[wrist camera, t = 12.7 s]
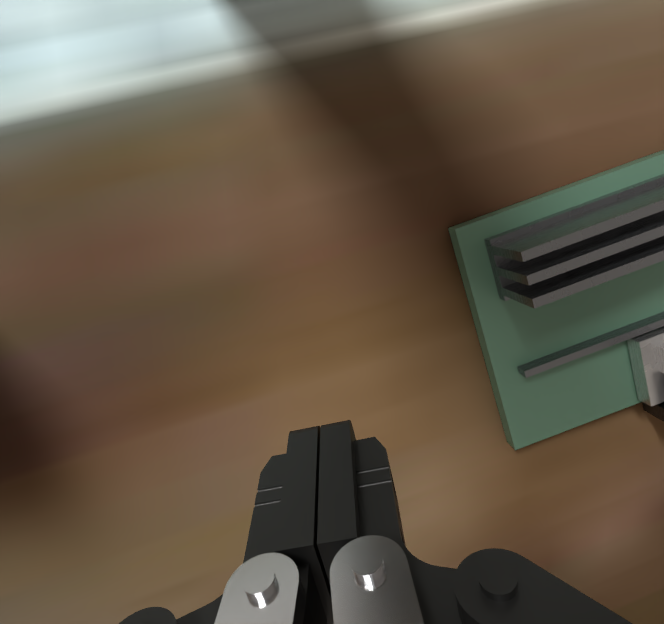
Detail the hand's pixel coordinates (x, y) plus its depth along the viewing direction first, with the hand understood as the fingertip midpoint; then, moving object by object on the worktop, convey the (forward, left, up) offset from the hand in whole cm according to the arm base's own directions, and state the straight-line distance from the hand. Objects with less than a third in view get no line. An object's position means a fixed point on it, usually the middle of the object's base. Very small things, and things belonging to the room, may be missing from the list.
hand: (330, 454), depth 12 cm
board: (-1, +26, -27) cm, 38 cm away
